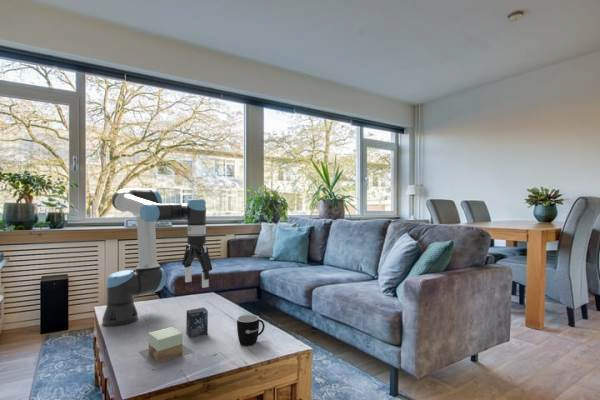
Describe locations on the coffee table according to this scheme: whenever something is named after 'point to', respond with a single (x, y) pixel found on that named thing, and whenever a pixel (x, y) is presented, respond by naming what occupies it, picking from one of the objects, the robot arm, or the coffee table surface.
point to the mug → (248, 329)
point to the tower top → (165, 338)
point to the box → (197, 322)
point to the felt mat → (146, 355)
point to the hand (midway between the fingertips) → (196, 284)
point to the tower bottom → (165, 353)
